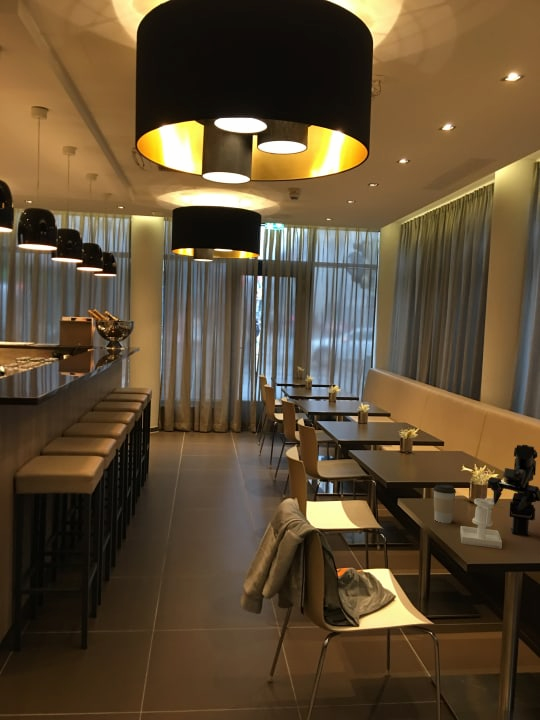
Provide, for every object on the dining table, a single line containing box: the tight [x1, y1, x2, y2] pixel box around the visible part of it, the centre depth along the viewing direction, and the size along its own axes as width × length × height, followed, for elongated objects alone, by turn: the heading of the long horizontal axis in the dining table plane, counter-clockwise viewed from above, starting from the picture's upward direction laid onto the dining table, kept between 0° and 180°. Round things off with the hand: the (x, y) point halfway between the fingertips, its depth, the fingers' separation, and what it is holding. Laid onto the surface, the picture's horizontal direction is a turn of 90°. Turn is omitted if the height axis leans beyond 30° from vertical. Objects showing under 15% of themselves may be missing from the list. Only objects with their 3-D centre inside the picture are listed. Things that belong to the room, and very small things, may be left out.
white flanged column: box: [472, 497, 495, 539], centre depth 217 cm, size 7×7×15 cm
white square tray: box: [459, 525, 503, 550], centre depth 217 cm, size 14×14×2 cm
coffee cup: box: [433, 482, 457, 524], centre depth 239 cm, size 9×9×15 cm
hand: (505, 506), depth 214 cm, fingers open, 9 cm apart
